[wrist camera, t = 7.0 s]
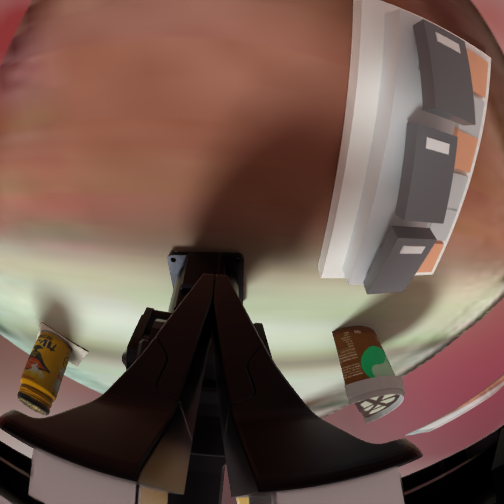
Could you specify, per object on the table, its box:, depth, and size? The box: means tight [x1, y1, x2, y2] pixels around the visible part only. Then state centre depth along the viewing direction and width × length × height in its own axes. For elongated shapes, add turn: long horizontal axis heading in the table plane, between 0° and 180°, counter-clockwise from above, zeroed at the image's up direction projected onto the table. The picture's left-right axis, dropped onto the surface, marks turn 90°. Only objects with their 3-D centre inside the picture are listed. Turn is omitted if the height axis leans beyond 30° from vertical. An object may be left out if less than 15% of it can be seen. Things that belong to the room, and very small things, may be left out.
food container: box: [332, 326, 405, 423], centre depth 29 cm, size 12×6×10 cm, turn 29°
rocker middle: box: [395, 123, 458, 224], centre depth 14 cm, size 6×4×1 cm, turn 178°
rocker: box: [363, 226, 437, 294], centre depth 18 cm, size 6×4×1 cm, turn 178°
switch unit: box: [318, 0, 491, 285], centre depth 17 cm, size 23×13×4 cm, turn 178°
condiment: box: [18, 323, 88, 415], centre depth 28 cm, size 7×8×12 cm
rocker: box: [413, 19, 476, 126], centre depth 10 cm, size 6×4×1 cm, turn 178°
